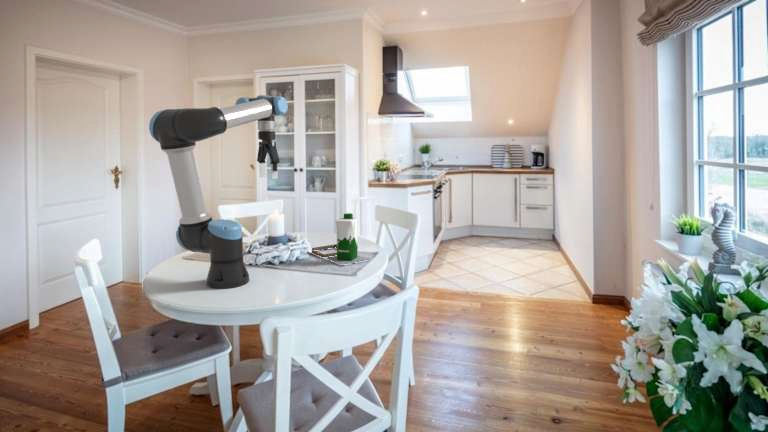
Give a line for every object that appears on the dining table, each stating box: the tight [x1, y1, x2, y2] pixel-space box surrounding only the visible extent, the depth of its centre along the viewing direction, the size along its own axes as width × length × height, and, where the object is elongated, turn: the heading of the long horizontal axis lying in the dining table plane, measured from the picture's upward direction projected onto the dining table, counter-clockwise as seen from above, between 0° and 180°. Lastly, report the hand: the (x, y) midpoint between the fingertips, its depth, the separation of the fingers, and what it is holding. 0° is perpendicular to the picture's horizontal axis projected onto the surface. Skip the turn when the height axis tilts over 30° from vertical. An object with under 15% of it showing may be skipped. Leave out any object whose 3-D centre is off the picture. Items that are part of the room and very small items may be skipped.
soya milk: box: [335, 212, 359, 261], centre depth 196 cm, size 9×9×20 cm
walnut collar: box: [311, 243, 337, 257], centre depth 212 cm, size 16×16×2 cm
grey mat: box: [327, 254, 370, 265], centre depth 198 cm, size 14×14×1 cm
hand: (268, 177), depth 203 cm, fingers open, 13 cm apart
